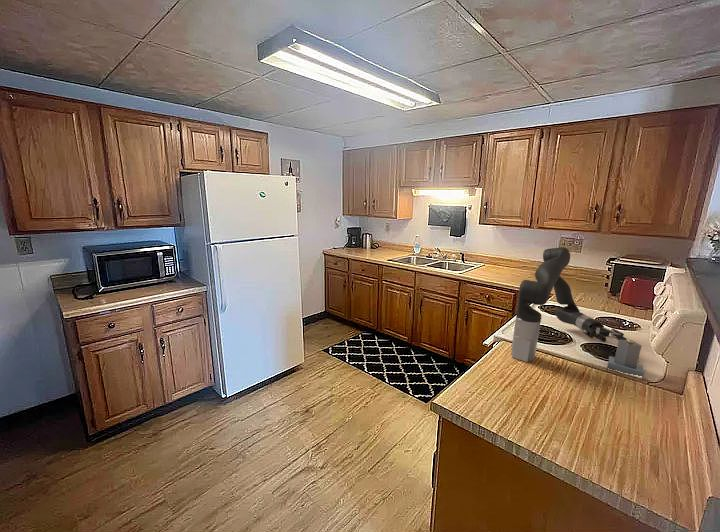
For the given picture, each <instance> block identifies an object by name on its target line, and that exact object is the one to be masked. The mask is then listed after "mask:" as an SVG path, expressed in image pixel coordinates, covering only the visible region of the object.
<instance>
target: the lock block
mask: <svg viewBox="0 0 720 532" xmlns="http://www.w3.org/2000/svg"><path fill="white" fill-rule="evenodd" d="M616 347H617V348H616V352H615V356H614V357H615V360H614V363H616V364H618V365H622V366H625V367H629V368H632V369H636V367H637V364H639V363H638V362H639V357H640V354H641V350H642V344H639V343H638V342H636V341H634V340H632V339H627V340H618V342H617V346H616Z"/></svg>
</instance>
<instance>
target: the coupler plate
mask: <svg viewBox="0 0 720 532" xmlns="http://www.w3.org/2000/svg"><path fill="white" fill-rule="evenodd" d="M608 360H609V361H608V362H607V366H606V367H607V368H609V369H612V370H617V371H620V372H623V373H628V374H633V375H638V376H642V377H643V378H644V377H645V371H644V364H640V363H637V367H636V369H632V368H629V367H625V366H622V365H618V364H616V363H614V360H615V356H611V355H609V356H608ZM607 368H606V369H607Z"/></svg>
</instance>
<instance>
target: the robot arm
mask: <svg viewBox="0 0 720 532" xmlns="http://www.w3.org/2000/svg"><path fill="white" fill-rule="evenodd" d="M542 258H543V262H542V263H540V265H539V266H538V267H537V268H536V270H535V273H534V278H535V281H534V280H529V279H524V280H522V281H521V283H520V285H519V288H518V297H517V308H516V315H515V323H514V328H513V329H514V330H513V337H512V340H511V341H512V342H511V348H510V349H511V351H510V355H511V358H513V359H516V360H519V361H522V362H525V363H528V362H533V361H534V360H535V359H536V353H537V346H538V341H539V340H538V339H539V335H540V334H539V333H540V328H541V322H542V314H541V312H539V311H538V310H537V309H535V308H533V307H532V306H531V305H530V304H532V305H538V306H544V305H546V303H547V302H548V301H549V298H550V296H551V294H552V291H553V290H554V294H555V298H556V302H557V303H558V304H559V305H562V307H560V308H557V310H556V311H555V316H556V318H557V319H558V320H559V321H560V322H562V323H564V324H568V325H573V326H574V327H576V328H578V329H579V330H580V331H582V333H583V334H584V335H585V336H587V337H589V338H590V339H595V340H599V341H600V342H602V343H606V341H607V338H609V339H615V340H618V341H619V340H628V339H627V338H626V337H625V336H624V335H625V334H624V333H623V332H621V331H619V330H617V329H615V328H611V329H609V328H607V327H605V326H604V323H602V322H600V321H598V320H597V319H595V318H593V317H591V316H590V315H586V314H584V313H583V312H581V311H580V309H579V307H578V306H577V304H576V303H575V302H576V301H574V299H573V294H572V289H571V287H570V285H569V284H568V282H567V281H566V280H565V279H564V278H563V277H561V274H562V272H563V270H564V269H566V267H567V266H568V265H569V263H570V260H571V253H570V250H569V249H568V248H566V247H563V246H561V247H552V248H545V249H544V250H543V253H542ZM563 305H564V306H563Z"/></svg>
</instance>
